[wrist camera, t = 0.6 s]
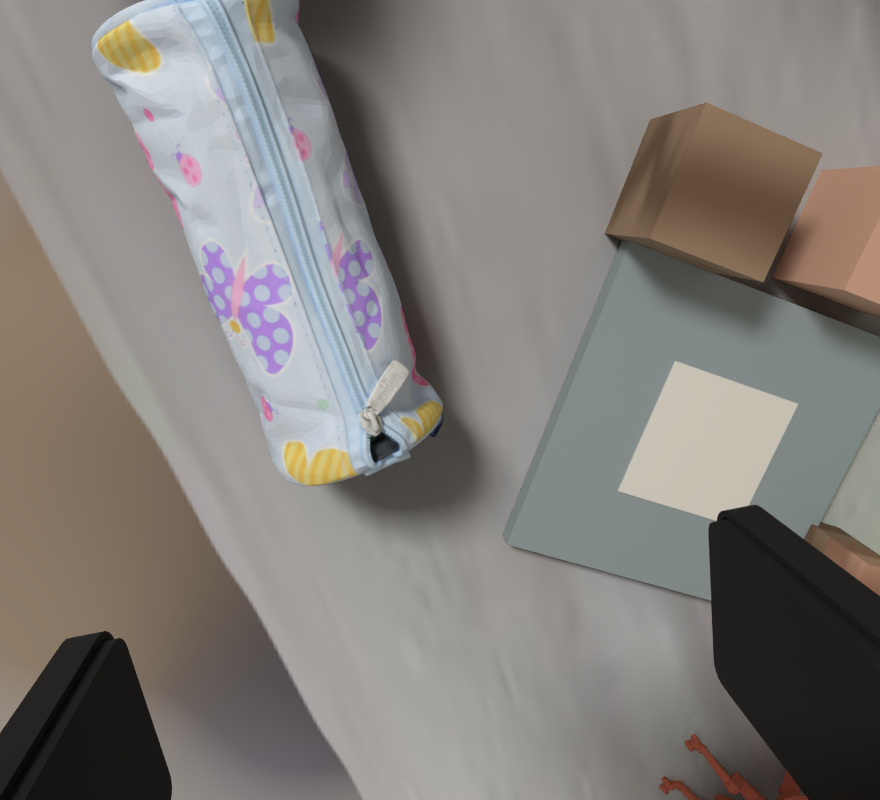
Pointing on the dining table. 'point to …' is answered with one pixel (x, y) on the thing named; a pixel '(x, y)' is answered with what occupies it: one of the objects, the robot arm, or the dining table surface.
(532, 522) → the board
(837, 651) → the robot arm
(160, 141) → the pencil case
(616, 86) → the dining table surface
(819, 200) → the terracotta block
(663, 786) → the beetle
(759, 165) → the walnut block
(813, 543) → the tower
